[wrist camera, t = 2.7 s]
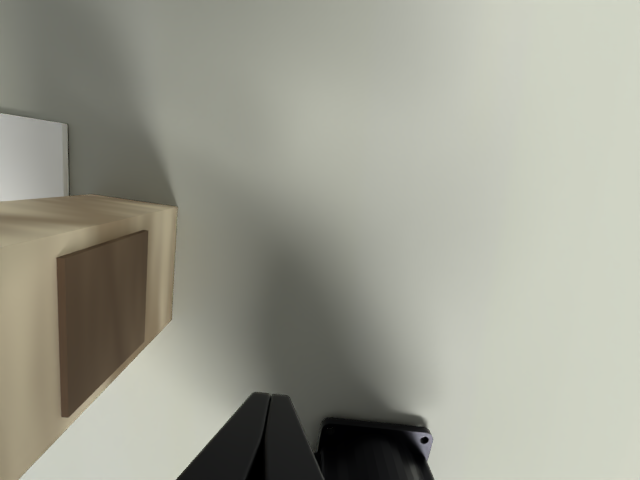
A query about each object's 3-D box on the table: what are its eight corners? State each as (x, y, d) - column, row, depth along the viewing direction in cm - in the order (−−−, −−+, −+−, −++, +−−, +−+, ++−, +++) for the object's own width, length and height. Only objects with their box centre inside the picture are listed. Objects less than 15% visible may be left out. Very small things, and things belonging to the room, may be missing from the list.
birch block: (182, 207, 14) (-214, 302, 3) (175, 320, 15) (-132, 650, 5) (91, 194, 14) (-648, 253, 3) (92, 310, 15) (-440, 638, 4)
